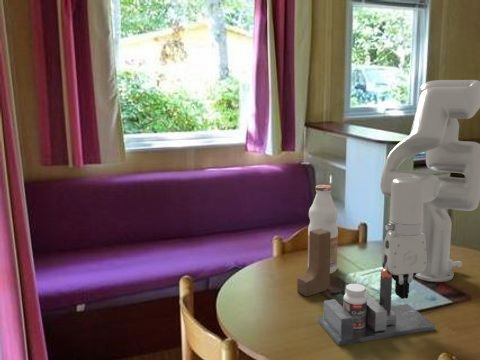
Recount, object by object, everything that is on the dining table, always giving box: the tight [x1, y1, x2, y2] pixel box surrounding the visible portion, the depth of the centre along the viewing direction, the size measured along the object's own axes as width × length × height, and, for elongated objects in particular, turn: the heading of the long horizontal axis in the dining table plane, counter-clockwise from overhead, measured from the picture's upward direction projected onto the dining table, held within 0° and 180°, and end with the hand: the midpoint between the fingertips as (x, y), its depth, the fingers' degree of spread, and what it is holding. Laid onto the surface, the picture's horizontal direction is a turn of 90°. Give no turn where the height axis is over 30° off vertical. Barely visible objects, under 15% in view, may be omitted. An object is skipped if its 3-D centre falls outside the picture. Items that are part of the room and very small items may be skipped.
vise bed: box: [317, 298, 436, 347], centre depth 123 cm, size 26×12×6 cm, turn 104°
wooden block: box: [296, 228, 331, 297], centre depth 142 cm, size 9×4×18 cm, turn 122°
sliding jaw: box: [364, 268, 397, 332], centre depth 122 cm, size 7×10×14 cm
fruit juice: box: [307, 184, 339, 275], centre depth 157 cm, size 9×9×28 cm
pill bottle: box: [342, 283, 367, 329], centre depth 121 cm, size 6×6×10 cm
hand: (401, 296), depth 124 cm, fingers closed
